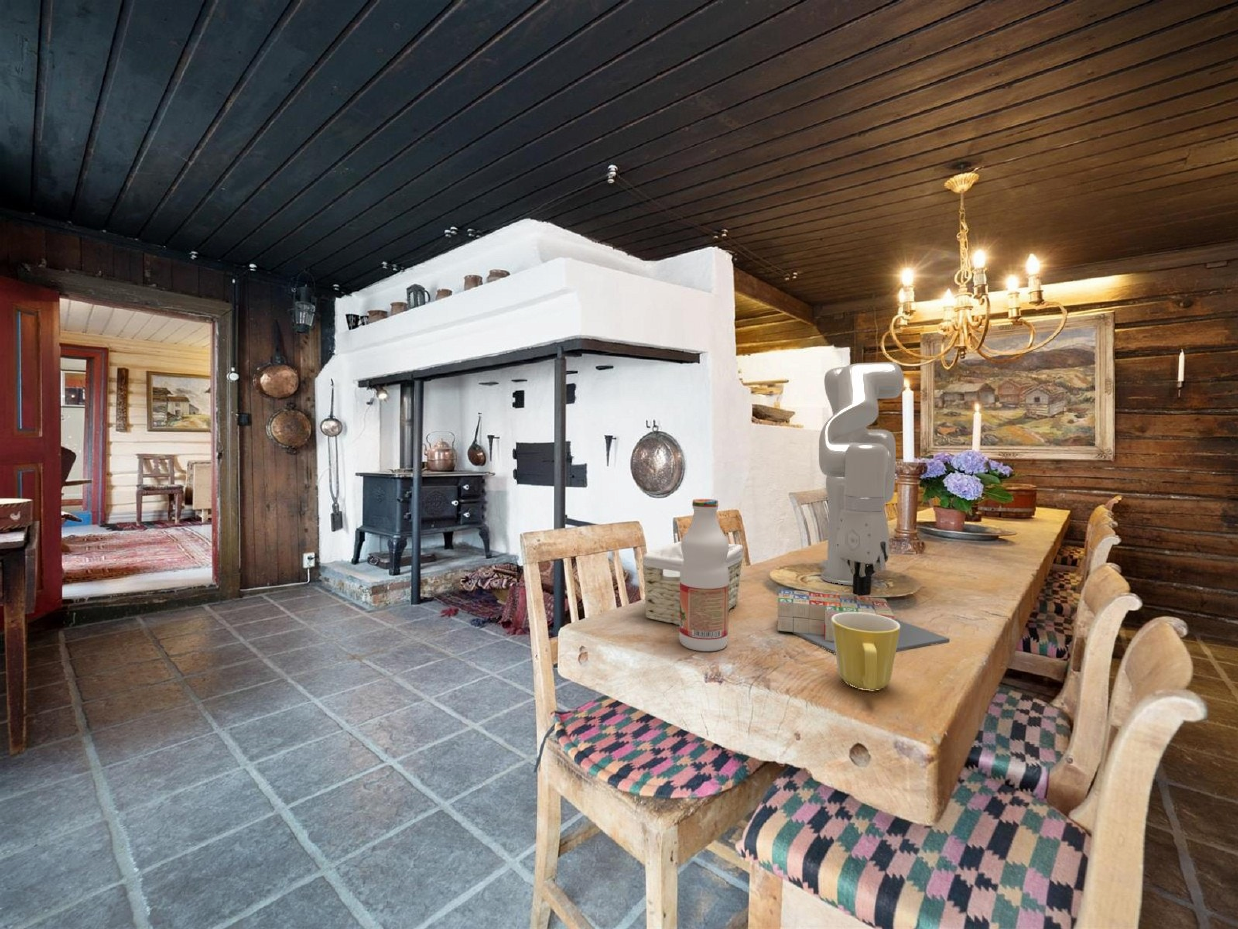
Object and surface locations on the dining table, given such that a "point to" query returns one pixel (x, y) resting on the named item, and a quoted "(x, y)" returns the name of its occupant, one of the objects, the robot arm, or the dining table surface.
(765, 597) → the dining table surface
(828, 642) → the rubber mat
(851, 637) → the mug
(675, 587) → the storage basket
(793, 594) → the stack of blocks
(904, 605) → the dining table surface
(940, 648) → the dining table surface
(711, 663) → the dining table surface
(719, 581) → the fruit juice
